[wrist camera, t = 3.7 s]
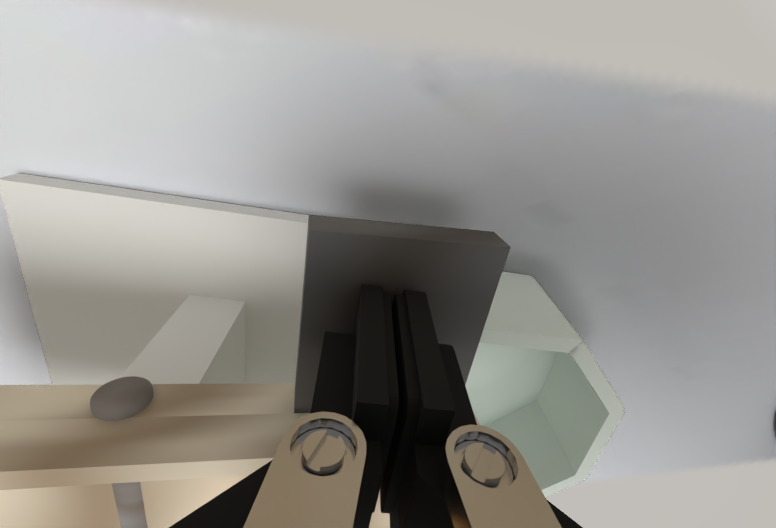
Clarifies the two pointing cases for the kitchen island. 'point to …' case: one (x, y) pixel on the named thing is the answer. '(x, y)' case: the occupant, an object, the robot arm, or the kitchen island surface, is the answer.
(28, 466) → the lever
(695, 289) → the kitchen island surface
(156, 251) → the lever stand
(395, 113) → the kitchen island surface
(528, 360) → the pale green bowl
